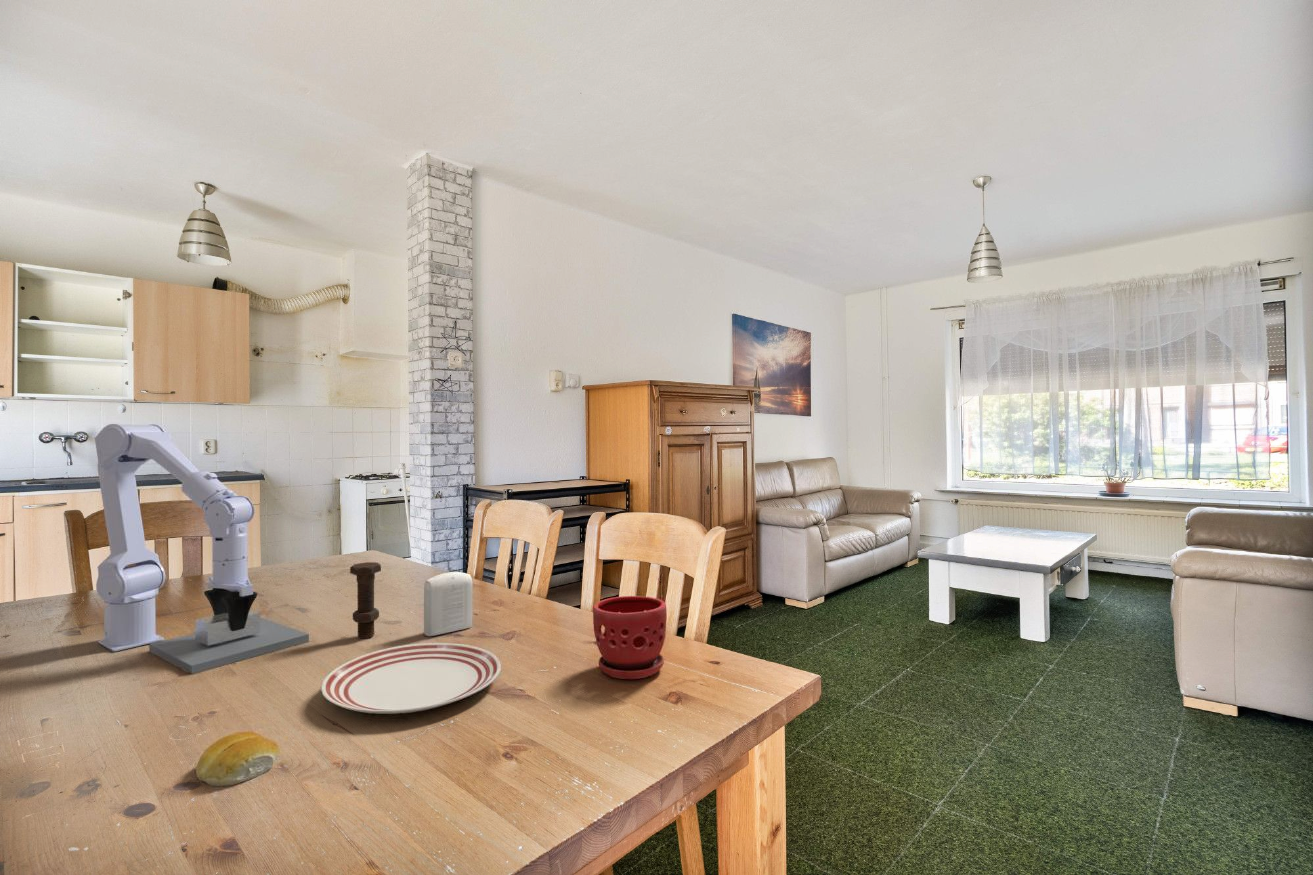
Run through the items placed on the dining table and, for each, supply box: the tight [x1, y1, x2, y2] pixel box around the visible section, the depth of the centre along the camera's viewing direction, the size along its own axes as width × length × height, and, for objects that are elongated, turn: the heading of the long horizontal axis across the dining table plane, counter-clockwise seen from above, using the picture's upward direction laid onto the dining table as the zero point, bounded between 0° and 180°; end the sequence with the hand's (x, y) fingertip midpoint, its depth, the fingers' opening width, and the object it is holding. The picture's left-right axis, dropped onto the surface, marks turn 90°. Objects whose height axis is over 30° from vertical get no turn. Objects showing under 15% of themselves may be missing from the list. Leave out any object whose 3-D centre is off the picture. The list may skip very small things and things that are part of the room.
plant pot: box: [592, 595, 668, 680], centre depth 109 cm, size 13×13×12 cm
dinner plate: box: [320, 642, 502, 715], centre depth 101 cm, size 28×27×3 cm
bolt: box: [349, 561, 382, 639], centre depth 126 cm, size 6×5×15 cm
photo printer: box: [423, 571, 473, 637], centre depth 130 cm, size 10×4×12 cm, turn 134°
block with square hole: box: [194, 609, 261, 646], centre depth 121 cm, size 6×9×4 cm, turn 146°
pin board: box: [148, 617, 310, 675], centre depth 121 cm, size 20×20×4 cm
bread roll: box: [195, 731, 280, 787], centre depth 77 cm, size 8×9×4 cm
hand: (230, 626), depth 121 cm, fingers open, 6 cm apart
